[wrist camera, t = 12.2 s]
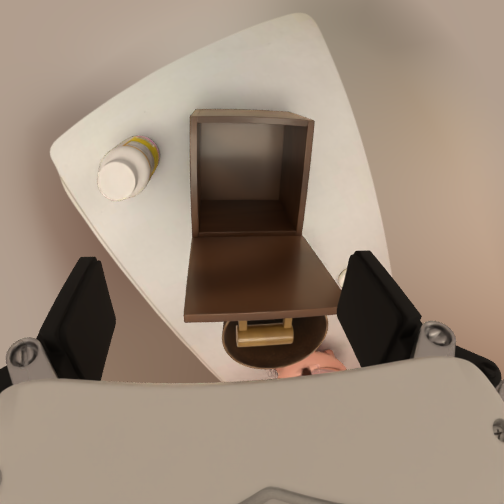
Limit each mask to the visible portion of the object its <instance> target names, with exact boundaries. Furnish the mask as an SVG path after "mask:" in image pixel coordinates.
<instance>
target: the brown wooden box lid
mask: <svg viewBox="0 0 504 504" xmlns="http://www.w3.org/2000/svg"><path fill="white" fill-rule="evenodd" d="M340 294H341V289H340V288H339V286H338V285H337V283H336V282H335V280H334V279H333V278H332V276H331V275H330V273H329V272H328V270H327V269H326V268H325V266H324V265H323V263H322V262H321V260H320V259H319V258H318V256H317V255H316V253H315V252H314V251H313V249H312V248H311V246H310V245H309V244H308V242H307V241H306V240H305V238H304V237H303V236H247V237H195V238H192V243H191V251H190V259H189V268H188V277H187V286H186V296H185V306H184V322H185V323H188V322H226V321H238V325H237V326H236V341H237V347H251V346H267V345H280V344H291V343H292V342H293V337H294V333H293V327H292V318H299V317H312V316H323V315H334V314H337V306H338V302H339V298H340ZM269 319H283V323H272V324H255V325H247V321H250V320H269Z"/></svg>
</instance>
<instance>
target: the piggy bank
mask: <svg viewBox="0 0 504 504" xmlns="http://www.w3.org/2000/svg"><path fill="white" fill-rule="evenodd" d="M343 370H347V369H346V367H345V366H344V365H343V364H342V363H341V362H340V361H339V360H338V359H337V358H335V357H334V354H333V351H332V350H326V351H324V352H319V351H314V352H313V353H312V354H311V355H310V356H308V357H307V358H305V359H303V360H302V361H300V362H298V363H295V364H293V365H290V366H287V367H283V368H277V369H276V371H277V372H278V377H277V379H279V378H289V377H298V376H307V375H315V374H323V373H330V372H337V371H343Z"/></svg>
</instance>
